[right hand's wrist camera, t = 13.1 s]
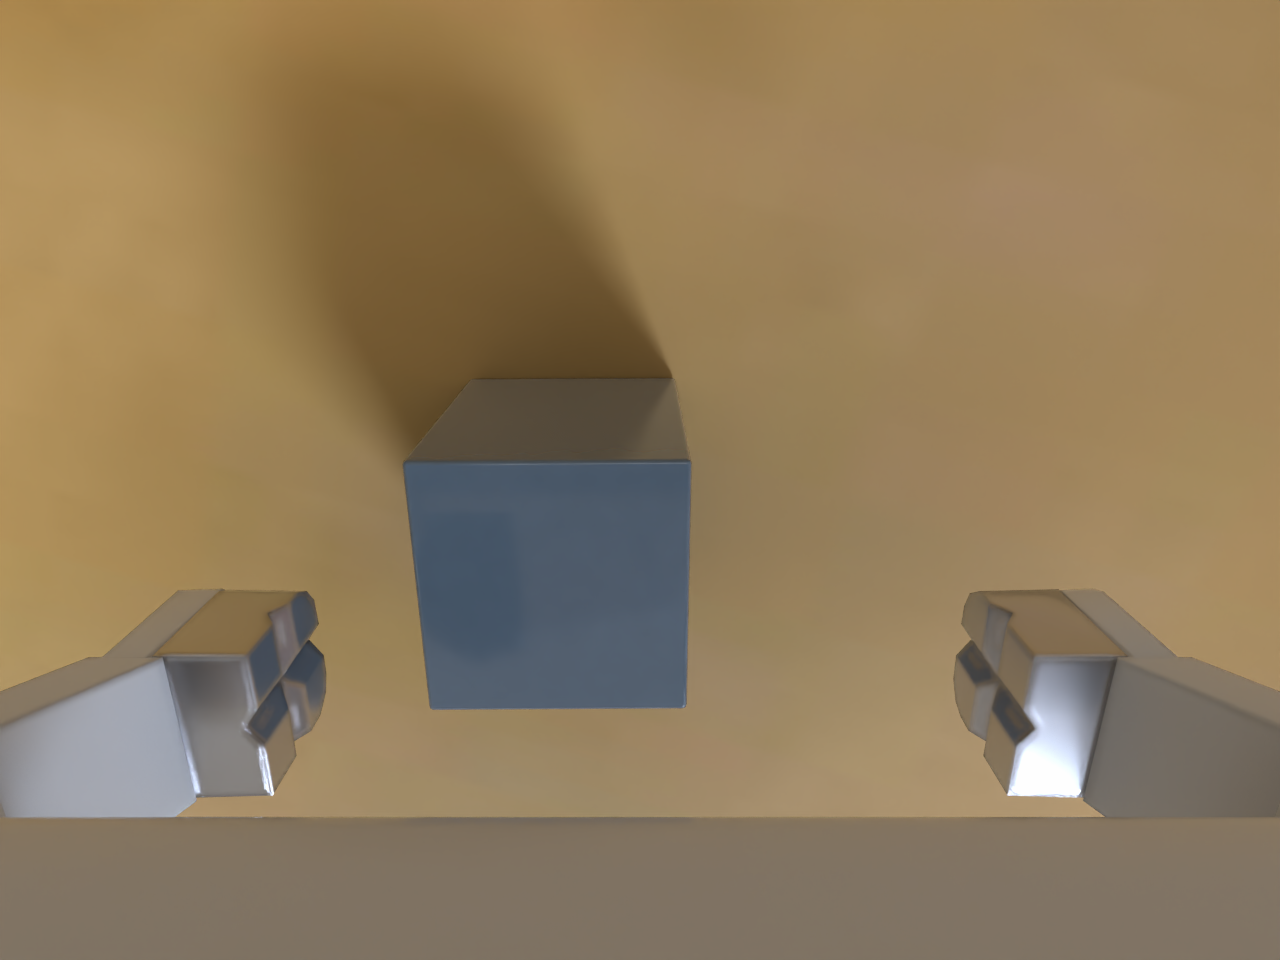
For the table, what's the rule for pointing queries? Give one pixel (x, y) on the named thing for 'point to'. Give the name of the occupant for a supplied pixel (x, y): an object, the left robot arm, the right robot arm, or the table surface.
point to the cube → (554, 545)
